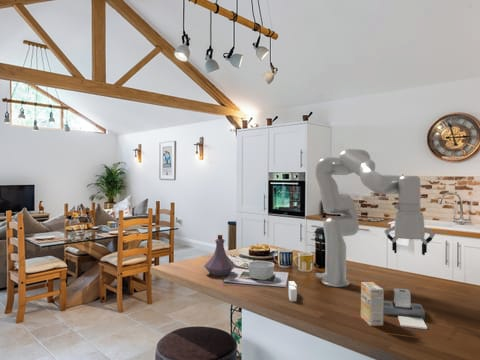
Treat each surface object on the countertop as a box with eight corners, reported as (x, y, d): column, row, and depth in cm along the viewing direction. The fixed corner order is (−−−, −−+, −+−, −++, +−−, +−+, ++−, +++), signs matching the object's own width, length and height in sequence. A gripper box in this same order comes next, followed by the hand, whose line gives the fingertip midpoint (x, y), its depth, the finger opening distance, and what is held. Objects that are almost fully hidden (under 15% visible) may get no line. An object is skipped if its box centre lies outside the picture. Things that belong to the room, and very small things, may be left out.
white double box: (287, 290, 162) (287, 278, 162) (311, 295, 155) (311, 282, 155) (270, 300, 150) (270, 286, 150) (295, 306, 143) (295, 291, 143)
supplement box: (359, 318, 130) (360, 281, 130) (372, 317, 131) (373, 281, 130) (370, 327, 122) (370, 289, 122) (383, 327, 122) (384, 288, 122)
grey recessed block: (382, 315, 133) (382, 307, 133) (380, 307, 140) (380, 300, 140) (424, 320, 128) (424, 311, 128) (420, 312, 136) (420, 303, 136)
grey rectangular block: (395, 314, 133) (395, 292, 133) (393, 309, 137) (394, 288, 137) (410, 315, 131) (410, 293, 131) (408, 310, 136) (408, 289, 136)
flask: (217, 268, 199) (217, 231, 199) (241, 272, 189) (242, 234, 189) (197, 274, 186) (197, 235, 186) (222, 280, 176) (222, 239, 176)
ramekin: (278, 276, 183) (279, 262, 183) (266, 283, 172) (266, 268, 172) (256, 272, 190) (256, 259, 190) (242, 278, 179) (243, 264, 179)
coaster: (400, 327, 122) (401, 324, 122) (397, 318, 130) (397, 315, 130) (427, 330, 120) (427, 327, 120) (422, 321, 127) (422, 318, 127)
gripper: (384, 208, 136) (384, 253, 137) (436, 209, 130) (436, 257, 130) (384, 207, 143) (384, 250, 144) (433, 208, 137) (433, 253, 137)
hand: (409, 253), depth 137 cm, fingers open, 9 cm apart
